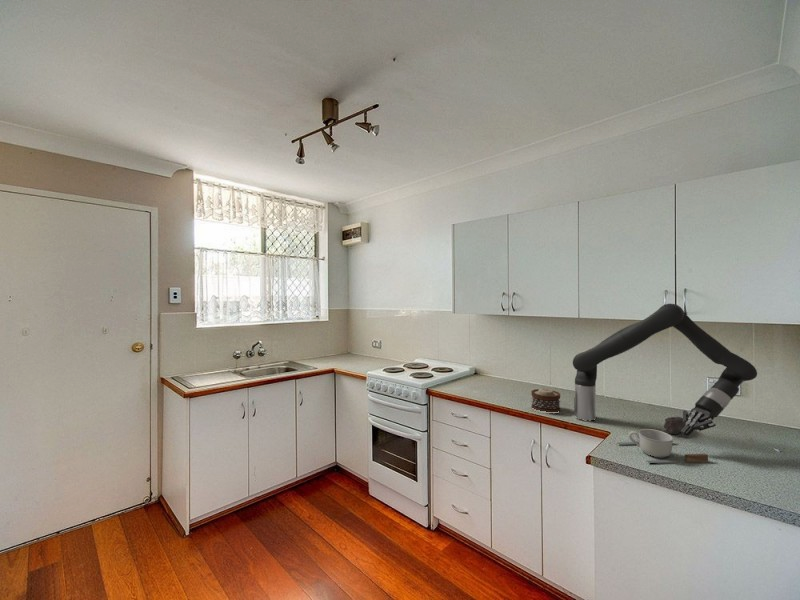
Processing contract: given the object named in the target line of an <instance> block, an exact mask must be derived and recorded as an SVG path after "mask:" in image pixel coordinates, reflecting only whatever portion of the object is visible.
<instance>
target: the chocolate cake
mask: <svg viewBox="0 0 800 600" xmlns="http://www.w3.org/2000/svg"><path fill="white" fill-rule="evenodd" d="M530 395H531V398H530V399H532V400H531V401H530V402H531V409H532V408H534V409H536V410H540V411H546V412H558V411H560V412H561V406H560V405H561V400H560V399H561V393H560V392H559V391H557V390H552V389H549V388H537V389H532V390H531V394H530Z"/></svg>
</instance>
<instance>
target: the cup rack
mask: <svg viewBox="0 0 800 600" xmlns="http://www.w3.org/2000/svg"><path fill="white" fill-rule="evenodd" d="M684 462H685V463H689V464H690V463H708V462H709V454H707V453H687V454H684Z"/></svg>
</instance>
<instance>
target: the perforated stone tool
mask: <svg viewBox="0 0 800 600" xmlns="http://www.w3.org/2000/svg"><path fill="white" fill-rule="evenodd" d="M664 421H665V422H664V424H663V428H664V430H665V433H667V434H669V435H670V434H671V435H677V434H680V433H681V429H682V428H683V427H684V426H685V425H686V424H685V423H684V422H683V417H681V416H671V417H667V418H665V419H664Z"/></svg>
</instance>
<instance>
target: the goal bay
mask: <svg viewBox="0 0 800 600" xmlns="http://www.w3.org/2000/svg"><path fill="white" fill-rule="evenodd" d="M617 444H619V445H627V446H637V444H635V443H634V442H632V441H630V442H629V441H625V442H616V445H617ZM619 445H618V446H619ZM646 461H647V462H648V463H658V464H657V465H665V464H670V465H671V464H676V461H675V460H674V459H657V460H656V459H655V460H646ZM648 463H647V464H648ZM659 463H660V464H659ZM661 463H662V464H661ZM664 463H665V464H664Z"/></svg>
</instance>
